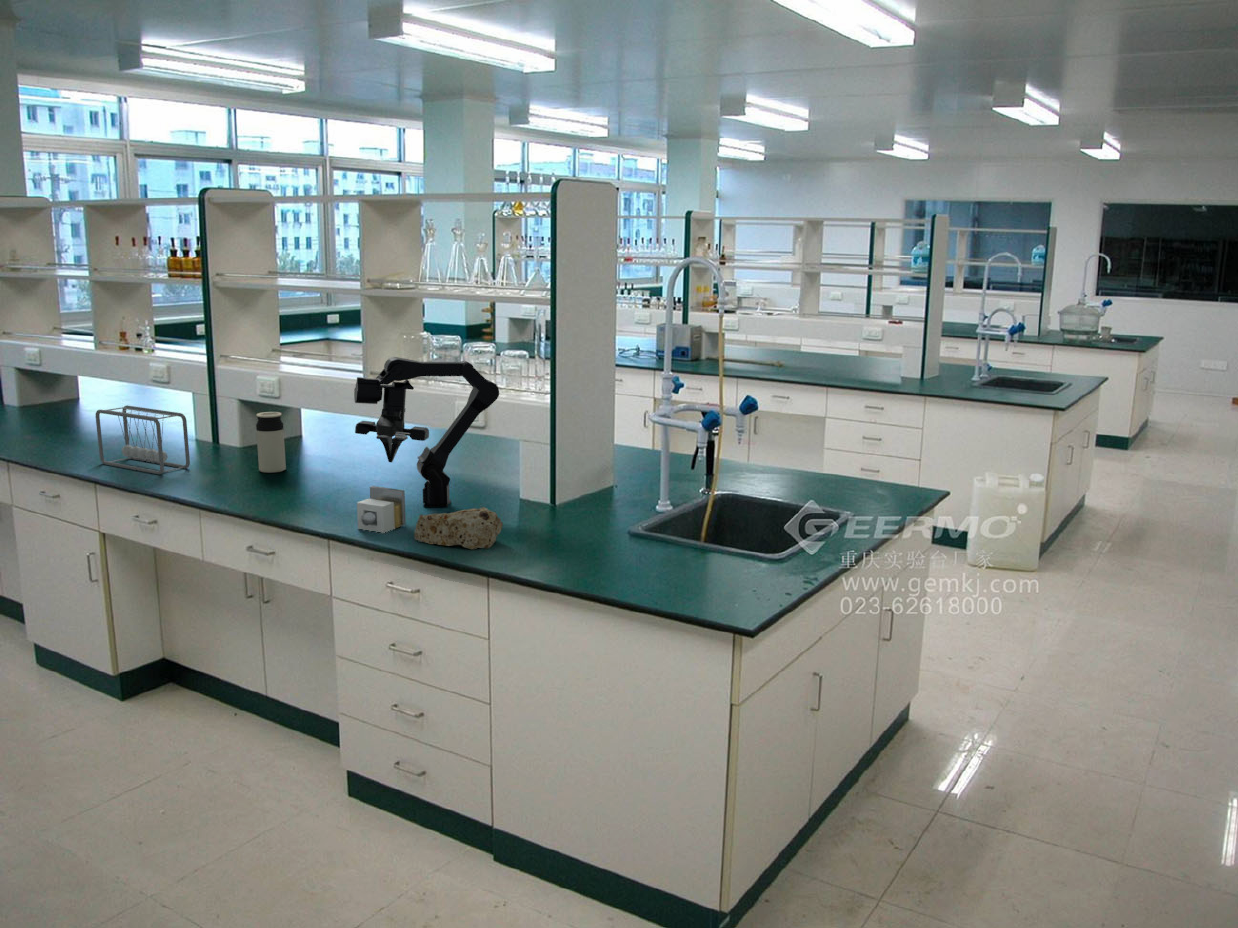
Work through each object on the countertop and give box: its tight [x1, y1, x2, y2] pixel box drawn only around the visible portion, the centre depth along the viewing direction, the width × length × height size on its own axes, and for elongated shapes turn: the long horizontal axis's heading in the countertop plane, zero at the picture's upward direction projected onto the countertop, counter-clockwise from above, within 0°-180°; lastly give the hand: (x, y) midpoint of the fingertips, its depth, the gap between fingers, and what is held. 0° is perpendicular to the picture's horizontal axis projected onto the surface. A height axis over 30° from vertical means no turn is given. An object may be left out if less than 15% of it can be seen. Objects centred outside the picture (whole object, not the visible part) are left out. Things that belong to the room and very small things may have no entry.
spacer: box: [394, 504, 402, 529], centre depth 255 cm, size 2×9×6 cm, turn 66°
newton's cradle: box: [95, 404, 191, 475], centre depth 313 cm, size 30×10×18 cm, turn 61°
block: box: [356, 498, 396, 534], centre depth 252 cm, size 4×8×7 cm, turn 65°
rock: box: [413, 507, 504, 550], centre depth 244 cm, size 21×14×10 cm
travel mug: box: [255, 411, 287, 474], centre depth 311 cm, size 8×8×18 cm
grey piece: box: [361, 485, 407, 527], centre depth 252 cm, size 9×10×9 cm
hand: (390, 462), depth 269 cm, fingers closed
